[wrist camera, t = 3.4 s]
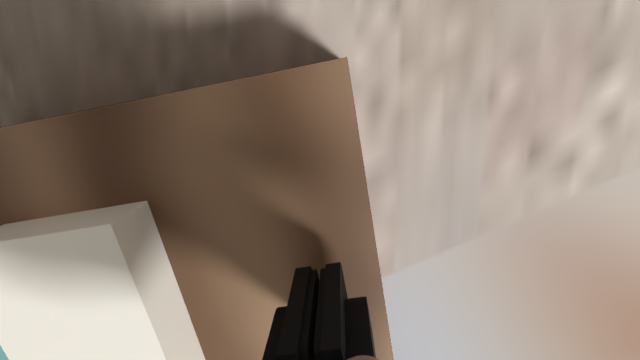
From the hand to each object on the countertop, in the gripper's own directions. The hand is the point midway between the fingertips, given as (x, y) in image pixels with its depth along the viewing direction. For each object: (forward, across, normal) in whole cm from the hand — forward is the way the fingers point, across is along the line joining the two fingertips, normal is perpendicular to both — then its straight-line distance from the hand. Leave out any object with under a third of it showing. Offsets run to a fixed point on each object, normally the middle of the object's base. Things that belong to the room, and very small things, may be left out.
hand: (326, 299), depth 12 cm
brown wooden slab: (+5, +6, -1) cm, 8 cm away
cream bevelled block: (+1, +9, 0) cm, 9 cm away
